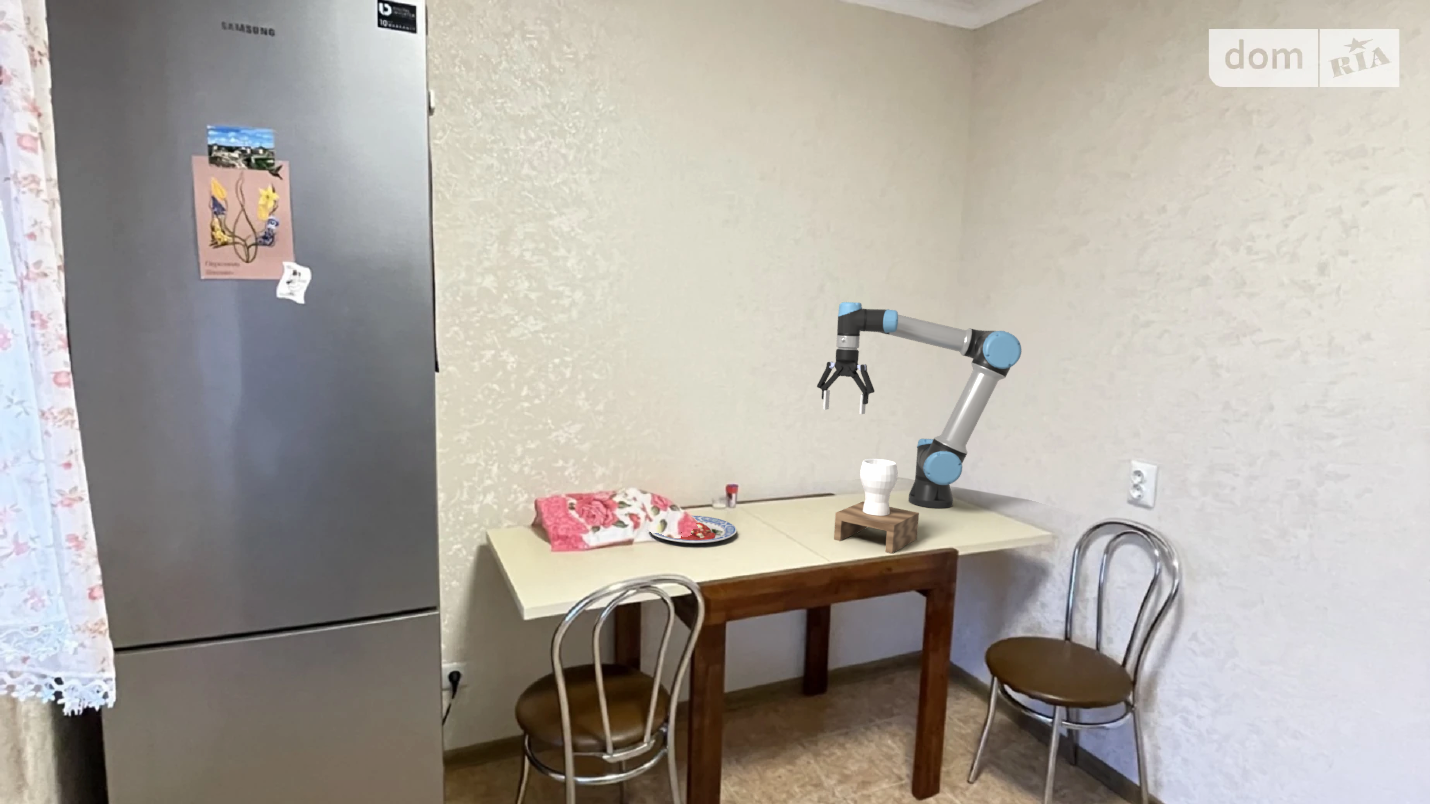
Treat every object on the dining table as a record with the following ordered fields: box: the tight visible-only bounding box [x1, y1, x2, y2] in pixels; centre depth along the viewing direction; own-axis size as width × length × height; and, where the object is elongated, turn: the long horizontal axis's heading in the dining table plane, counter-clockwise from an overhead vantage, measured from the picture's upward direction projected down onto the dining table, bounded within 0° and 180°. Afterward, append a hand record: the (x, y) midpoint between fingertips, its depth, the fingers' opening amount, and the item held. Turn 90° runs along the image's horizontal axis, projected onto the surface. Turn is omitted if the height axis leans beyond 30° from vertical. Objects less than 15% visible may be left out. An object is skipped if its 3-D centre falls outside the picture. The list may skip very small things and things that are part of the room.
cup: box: [859, 458, 898, 516], centre depth 212 cm, size 11×11×15 cm
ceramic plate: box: [651, 514, 737, 544], centre depth 211 cm, size 26×26×3 cm
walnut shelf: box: [833, 501, 920, 554], centre depth 213 cm, size 18×18×8 cm
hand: (843, 411), depth 245 cm, fingers open, 13 cm apart
